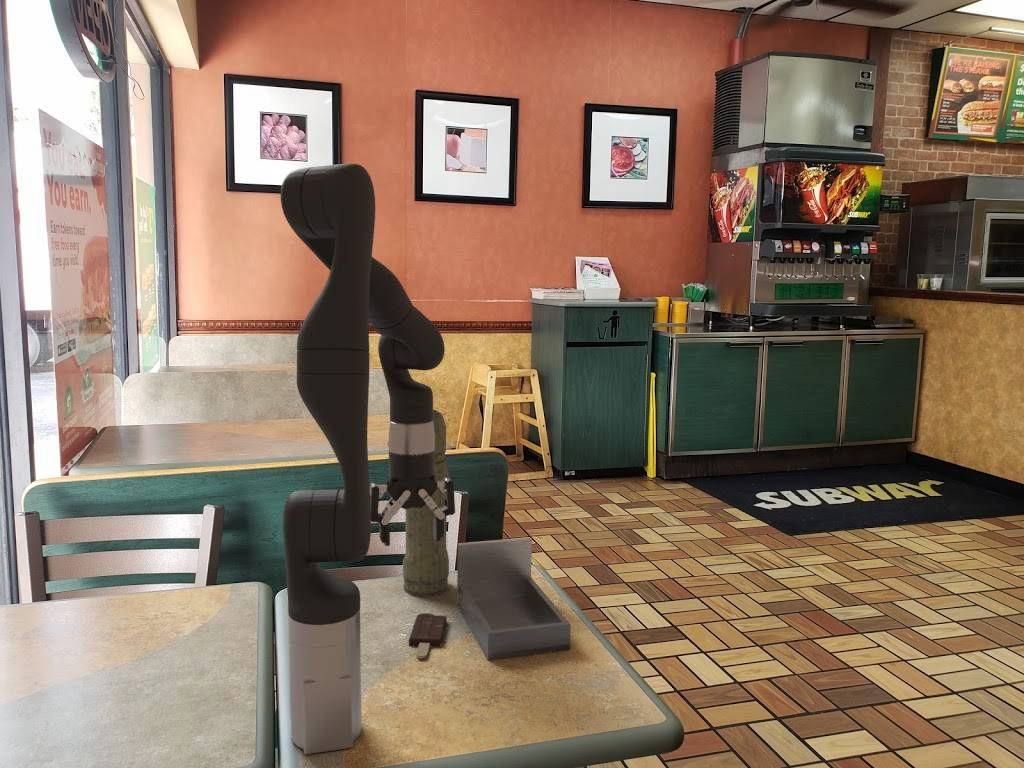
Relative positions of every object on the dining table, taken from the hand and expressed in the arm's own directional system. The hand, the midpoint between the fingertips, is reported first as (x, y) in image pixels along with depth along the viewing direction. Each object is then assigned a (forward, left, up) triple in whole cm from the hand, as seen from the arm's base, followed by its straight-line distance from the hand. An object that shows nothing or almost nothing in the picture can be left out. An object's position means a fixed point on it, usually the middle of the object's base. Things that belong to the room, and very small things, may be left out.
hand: (412, 542), depth 134 cm
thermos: (+20, -6, -17) cm, 27 cm away
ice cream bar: (-2, -2, -17) cm, 17 cm away
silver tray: (-1, -17, -17) cm, 24 cm away
